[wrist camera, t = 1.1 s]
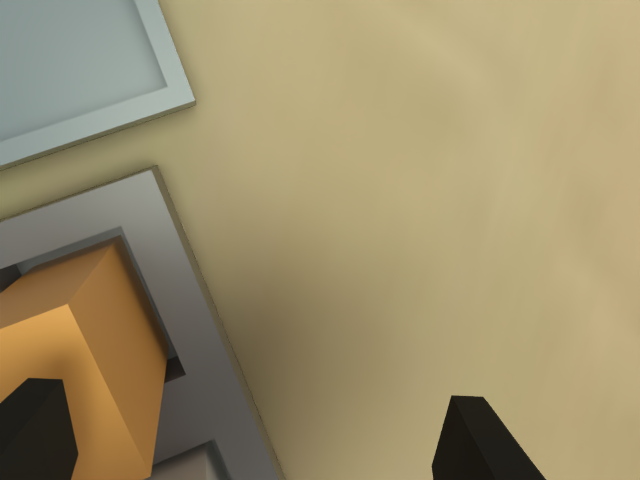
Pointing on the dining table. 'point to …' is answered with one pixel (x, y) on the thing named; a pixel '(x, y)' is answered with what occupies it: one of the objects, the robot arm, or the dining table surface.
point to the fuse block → (158, 313)
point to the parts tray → (82, 73)
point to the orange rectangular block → (91, 354)
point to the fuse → (190, 465)
